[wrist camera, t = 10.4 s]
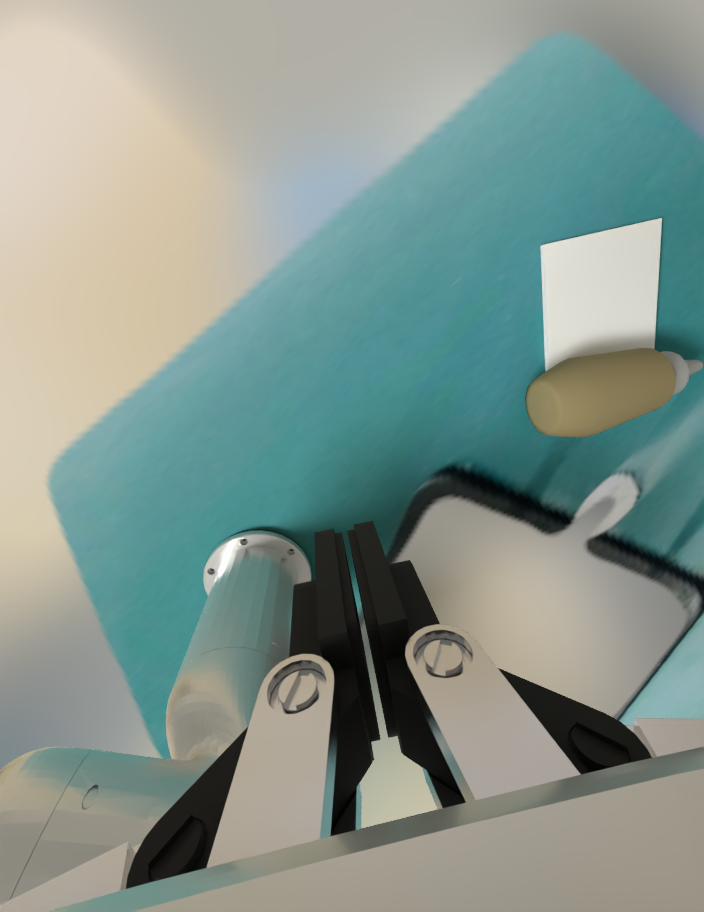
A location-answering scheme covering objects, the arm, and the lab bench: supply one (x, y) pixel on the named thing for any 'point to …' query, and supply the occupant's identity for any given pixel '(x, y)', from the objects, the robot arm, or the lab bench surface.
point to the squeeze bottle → (605, 390)
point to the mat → (601, 292)
